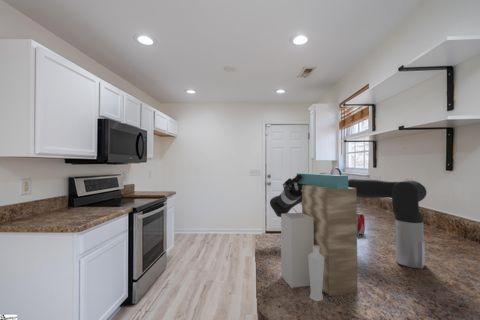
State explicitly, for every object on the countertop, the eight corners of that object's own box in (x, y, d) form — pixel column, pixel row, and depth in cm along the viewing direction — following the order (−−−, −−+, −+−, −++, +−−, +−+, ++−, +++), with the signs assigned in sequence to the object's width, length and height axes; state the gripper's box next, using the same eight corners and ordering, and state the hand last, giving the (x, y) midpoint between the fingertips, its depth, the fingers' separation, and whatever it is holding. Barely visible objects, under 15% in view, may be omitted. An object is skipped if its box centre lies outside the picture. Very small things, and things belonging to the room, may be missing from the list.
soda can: (366, 235, 132) (366, 214, 132) (353, 234, 133) (352, 213, 133) (362, 232, 139) (362, 212, 139) (349, 231, 140) (349, 211, 140)
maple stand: (302, 272, 85) (302, 184, 86) (326, 269, 88) (325, 184, 89) (329, 296, 70) (328, 188, 71) (357, 291, 72) (356, 188, 73)
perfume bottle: (305, 293, 71) (305, 243, 71) (319, 293, 71) (319, 243, 72) (311, 302, 66) (311, 249, 67) (326, 301, 67) (325, 248, 67)
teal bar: (296, 183, 97) (296, 173, 97) (305, 182, 98) (305, 173, 98) (337, 188, 71) (336, 175, 71) (348, 188, 72) (348, 175, 72)
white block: (281, 276, 82) (281, 213, 83) (301, 274, 84) (301, 212, 85) (291, 287, 74) (291, 218, 75) (313, 284, 76) (313, 217, 77)
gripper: (308, 200, 105) (327, 184, 91) (278, 201, 101) (294, 184, 88) (304, 185, 109) (322, 167, 95) (275, 185, 105) (289, 167, 91)
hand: (308, 175), depth 91 cm, fingers open, 6 cm apart
